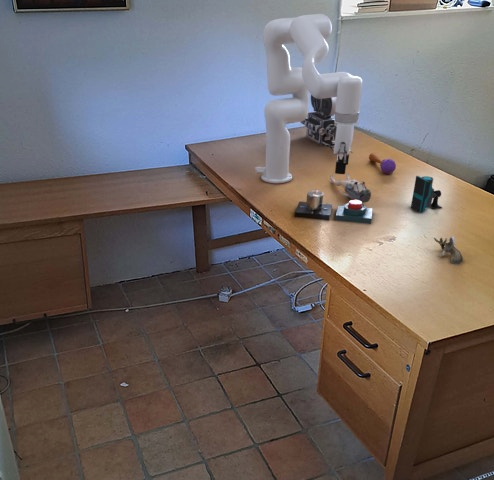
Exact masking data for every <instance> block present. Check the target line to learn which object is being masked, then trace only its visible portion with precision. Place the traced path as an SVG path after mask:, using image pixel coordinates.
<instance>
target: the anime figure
mask: <svg viewBox="0 0 494 480" xmlns="http://www.w3.org/2000/svg"><path fill="white" fill-rule="evenodd" d="M345 175H346V180H345V179H344V180H341V179H340V180H336V179H335V178H334V176H333V173H331V174H329V180H330V181H331V183H332V184H334V185H335V186H336V187H340V186H342V187H343V189H344V191H342V190H341V189H340V190H338V193H339V194H341V195H343V196H345V197H348V198H349V199H350V200H360V201H361V202H362V204H364V203H368V202H369V201H370V199H371V196H372V193H371V189H368V188H367V186H366V182H365V181H362V182H360V181H358V180H357V179H351V177H350V174H349V173H346V174H345Z"/></svg>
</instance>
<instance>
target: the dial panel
mask: <svg viewBox="0 0 494 480" xmlns="http://www.w3.org/2000/svg"><path fill="white" fill-rule="evenodd" d="M333 205H334V204H332V203H322V209H321V210H319V211H310V210H308V209H306V201H298V203H297V206H296V209H295V211H294V218H297V219H298V218H300V219H309V220H320V221H330V220H331V219H330V218H331V215H332V211H333Z"/></svg>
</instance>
